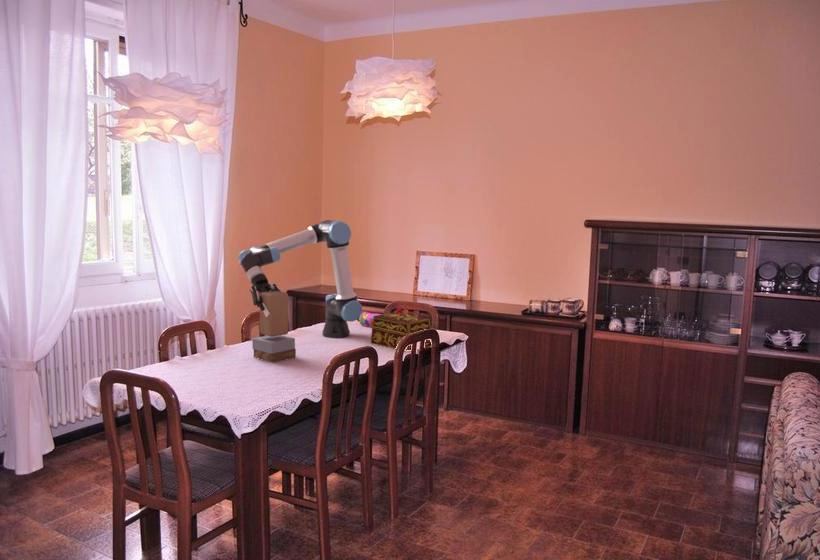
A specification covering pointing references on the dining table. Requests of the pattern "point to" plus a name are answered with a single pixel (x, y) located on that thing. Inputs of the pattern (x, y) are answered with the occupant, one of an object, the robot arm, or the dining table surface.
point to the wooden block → (274, 313)
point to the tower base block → (275, 355)
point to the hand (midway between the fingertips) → (277, 314)
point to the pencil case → (366, 318)
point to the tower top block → (273, 343)
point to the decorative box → (396, 328)
